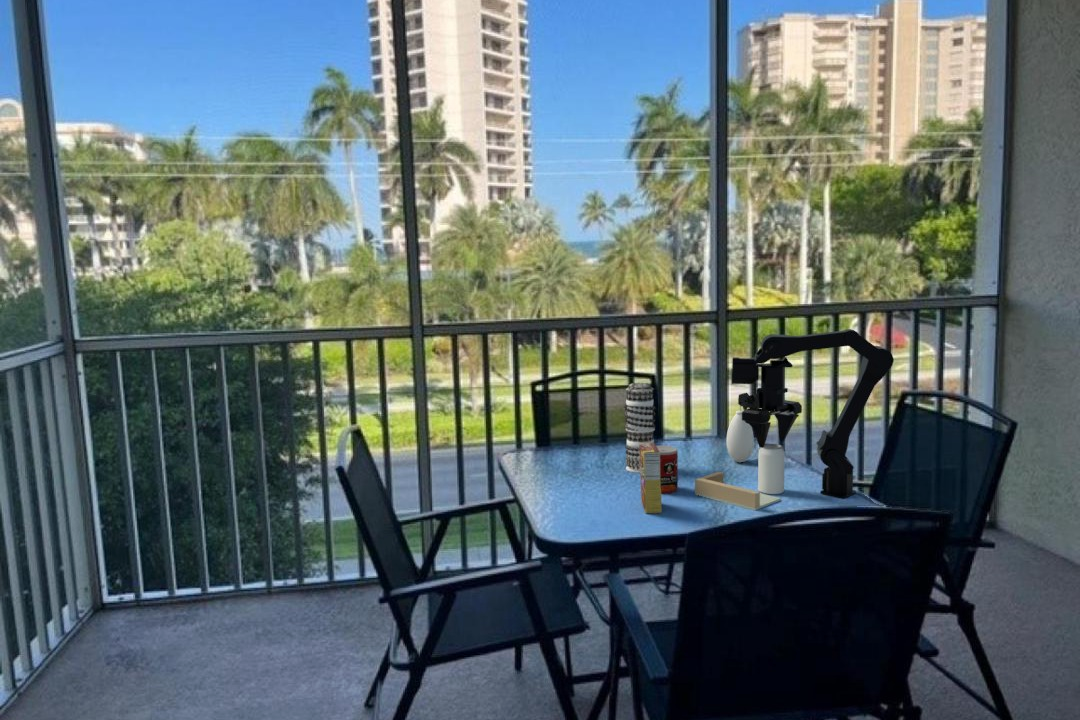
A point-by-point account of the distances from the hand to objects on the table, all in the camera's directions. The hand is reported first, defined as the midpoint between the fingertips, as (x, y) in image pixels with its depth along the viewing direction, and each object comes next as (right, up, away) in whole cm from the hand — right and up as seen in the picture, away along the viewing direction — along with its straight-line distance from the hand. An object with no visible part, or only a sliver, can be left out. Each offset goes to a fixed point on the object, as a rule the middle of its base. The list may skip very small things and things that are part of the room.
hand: (771, 444), depth 202 cm
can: (0, -13, +2) cm, 13 cm away
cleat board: (-9, -13, -3) cm, 16 cm away
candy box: (-32, -15, -9) cm, 37 cm away
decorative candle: (-30, -10, +27) cm, 42 cm away
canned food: (-27, -13, +6) cm, 30 cm away
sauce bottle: (0, -9, +31) cm, 32 cm away
